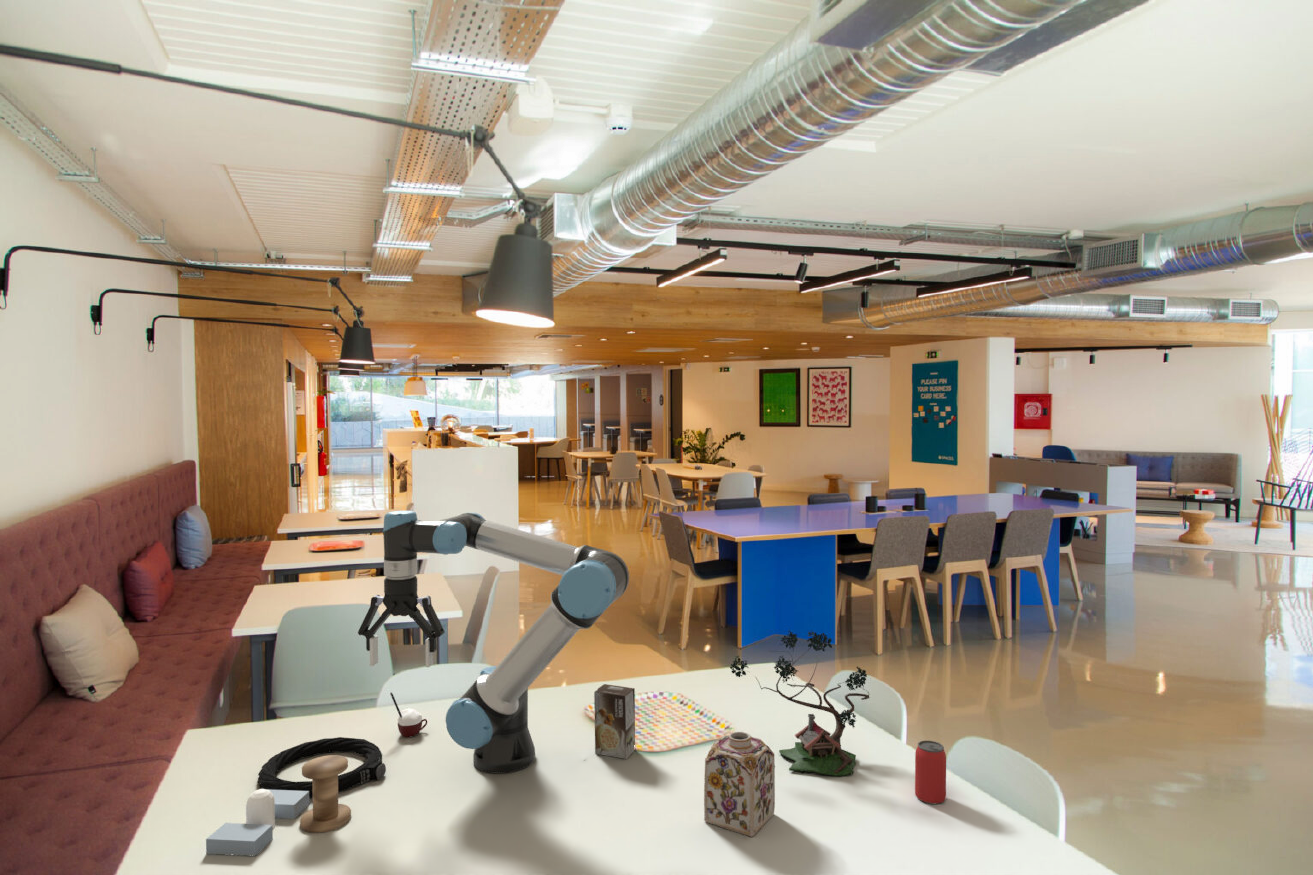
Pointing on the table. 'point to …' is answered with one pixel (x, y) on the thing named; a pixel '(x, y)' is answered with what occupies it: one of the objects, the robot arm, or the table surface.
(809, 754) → the bonsai tree
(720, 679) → the table surface
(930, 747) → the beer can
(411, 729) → the cocoa
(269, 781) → the cable lock
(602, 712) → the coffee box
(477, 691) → the robot arm
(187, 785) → the table surface
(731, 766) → the decorative jar
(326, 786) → the knob
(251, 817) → the capsule
